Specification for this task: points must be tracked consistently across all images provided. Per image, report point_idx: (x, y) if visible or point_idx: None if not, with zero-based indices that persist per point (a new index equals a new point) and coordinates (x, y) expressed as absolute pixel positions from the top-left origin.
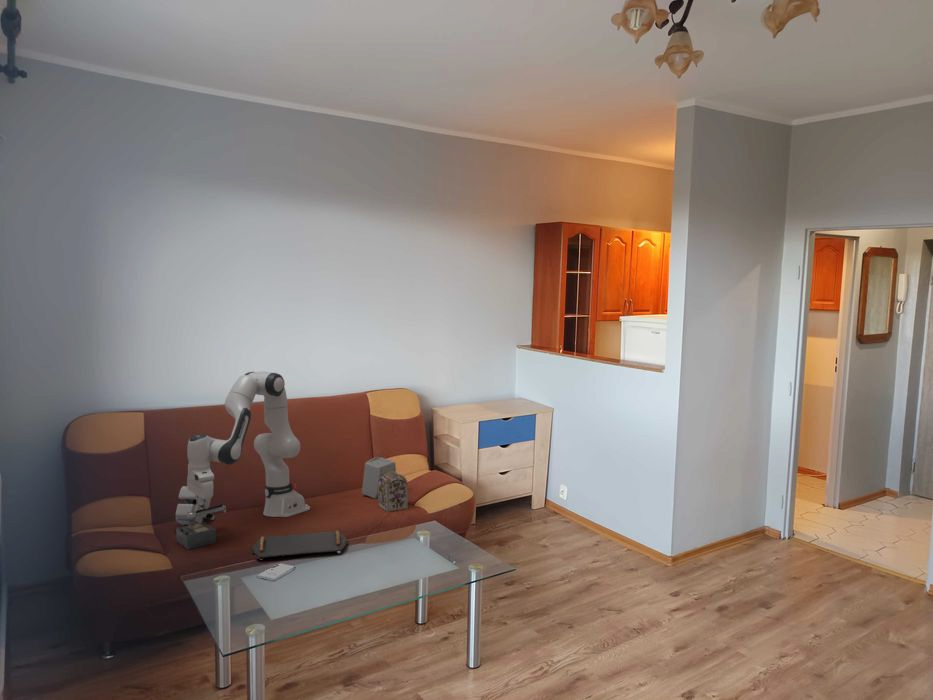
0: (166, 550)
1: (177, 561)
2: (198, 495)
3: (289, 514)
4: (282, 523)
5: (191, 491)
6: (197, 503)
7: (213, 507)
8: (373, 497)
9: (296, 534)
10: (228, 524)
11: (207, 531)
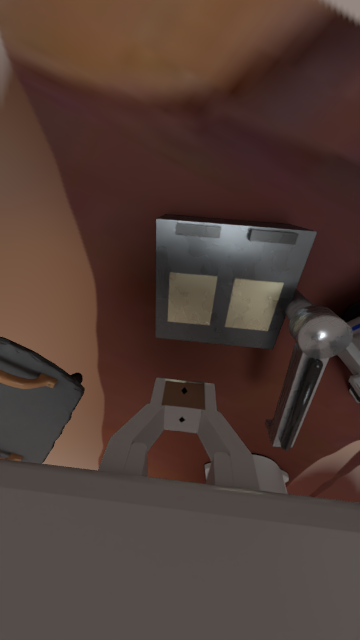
0: (227, 134)
1: (61, 112)
2: (63, 476)
3: (205, 472)
4: (178, 447)
5: (355, 512)
6: (197, 385)
7: (290, 421)
8: None
9: (58, 430)
10: (277, 395)
11: (156, 309)
